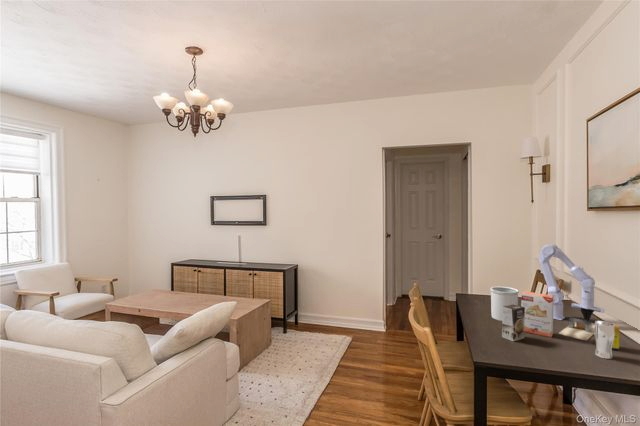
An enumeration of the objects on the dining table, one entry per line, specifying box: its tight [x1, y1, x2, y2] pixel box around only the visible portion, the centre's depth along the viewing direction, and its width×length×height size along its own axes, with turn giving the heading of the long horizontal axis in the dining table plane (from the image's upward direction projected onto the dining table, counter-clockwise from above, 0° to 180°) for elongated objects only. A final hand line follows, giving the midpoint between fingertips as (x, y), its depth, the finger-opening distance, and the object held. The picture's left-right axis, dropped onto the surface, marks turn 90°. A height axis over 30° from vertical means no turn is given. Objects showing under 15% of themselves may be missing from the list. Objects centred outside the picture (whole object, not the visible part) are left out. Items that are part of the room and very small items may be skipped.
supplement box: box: [612, 324, 620, 351], centre depth 161 cm, size 6×6×11 cm
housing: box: [568, 317, 592, 332], centre depth 183 cm, size 9×4×5 cm, turn 39°
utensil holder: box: [490, 285, 519, 322], centre depth 201 cm, size 15×15×18 cm
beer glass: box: [594, 320, 615, 360], centre depth 151 cm, size 7×7×15 cm
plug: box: [576, 319, 587, 329], centre depth 188 cm, size 11×4×3 cm, turn 129°
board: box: [557, 322, 595, 342], centre depth 183 cm, size 12×34×1 cm, turn 129°
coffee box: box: [501, 304, 525, 342], centre depth 171 cm, size 9×6×16 cm
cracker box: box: [520, 290, 554, 338], centre depth 178 cm, size 14×6×21 cm, turn 50°
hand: (587, 322), depth 192 cm, fingers closed, pressing on plug
